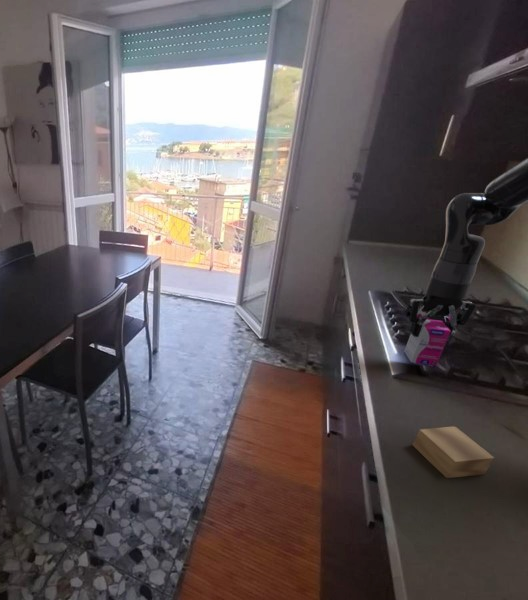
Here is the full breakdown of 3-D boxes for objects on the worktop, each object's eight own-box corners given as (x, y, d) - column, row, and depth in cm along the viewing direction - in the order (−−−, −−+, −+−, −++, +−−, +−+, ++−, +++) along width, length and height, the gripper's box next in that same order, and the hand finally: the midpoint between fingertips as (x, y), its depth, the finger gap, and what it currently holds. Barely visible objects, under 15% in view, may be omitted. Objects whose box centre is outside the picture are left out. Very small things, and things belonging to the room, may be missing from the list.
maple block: (447, 441, 75) (455, 426, 73) (484, 474, 68) (494, 457, 66) (412, 445, 75) (419, 429, 73) (446, 478, 68) (455, 461, 66)
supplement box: (410, 364, 95) (423, 327, 91) (403, 353, 100) (415, 317, 96) (436, 368, 94) (451, 330, 89) (427, 356, 99) (441, 319, 94)
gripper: (427, 281, 85) (405, 341, 92) (496, 284, 82) (469, 345, 89) (410, 270, 91) (391, 327, 98) (474, 273, 89) (450, 331, 96)
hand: (428, 336), depth 94 cm, fingers closed on supplement box, 6 cm apart
